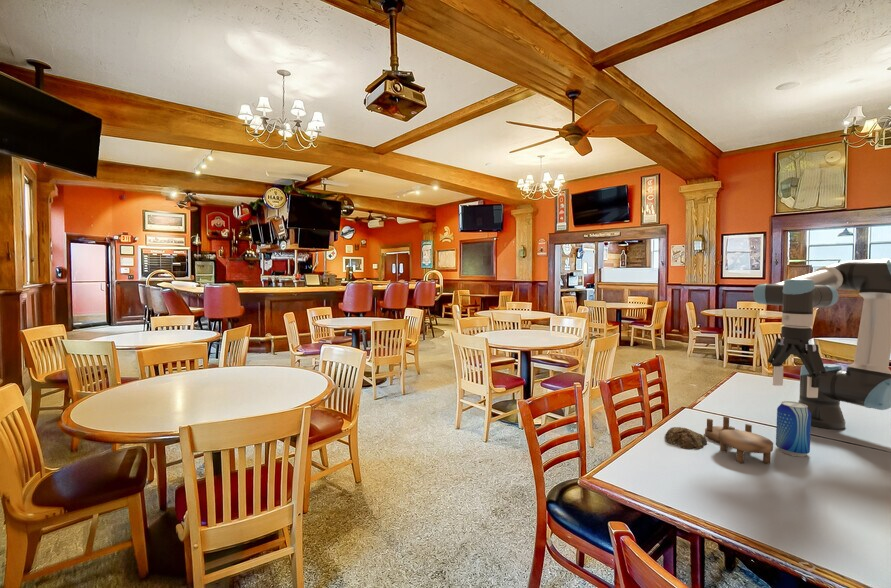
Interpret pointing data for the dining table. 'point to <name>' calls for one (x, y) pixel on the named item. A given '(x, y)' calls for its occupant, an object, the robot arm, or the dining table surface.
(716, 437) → the upturned footstool
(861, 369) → the robot arm
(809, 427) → the beer can
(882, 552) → the dining table surface
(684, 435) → the bread roll
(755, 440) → the footstool
